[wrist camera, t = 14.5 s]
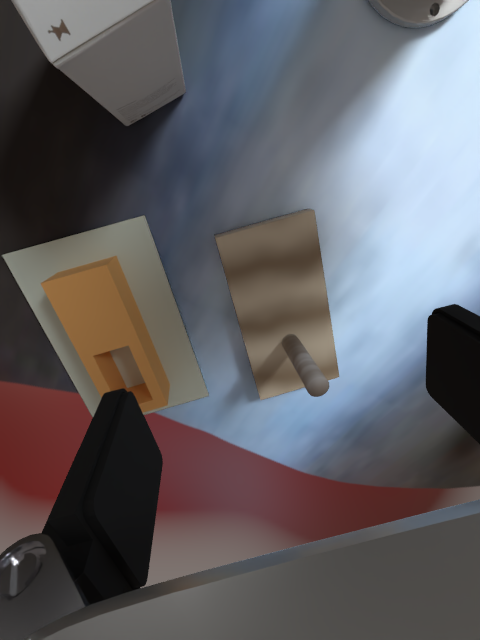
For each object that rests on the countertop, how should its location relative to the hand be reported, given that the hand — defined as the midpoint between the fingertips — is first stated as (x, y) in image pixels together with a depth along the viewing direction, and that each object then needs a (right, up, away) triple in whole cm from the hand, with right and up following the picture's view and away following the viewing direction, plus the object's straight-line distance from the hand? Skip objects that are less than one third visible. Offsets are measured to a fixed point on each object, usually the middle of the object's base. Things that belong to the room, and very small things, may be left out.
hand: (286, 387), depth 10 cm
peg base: (+3, +3, +27) cm, 28 cm away
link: (-15, +1, +25) cm, 29 cm away
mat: (-15, +1, +26) cm, 30 cm away
